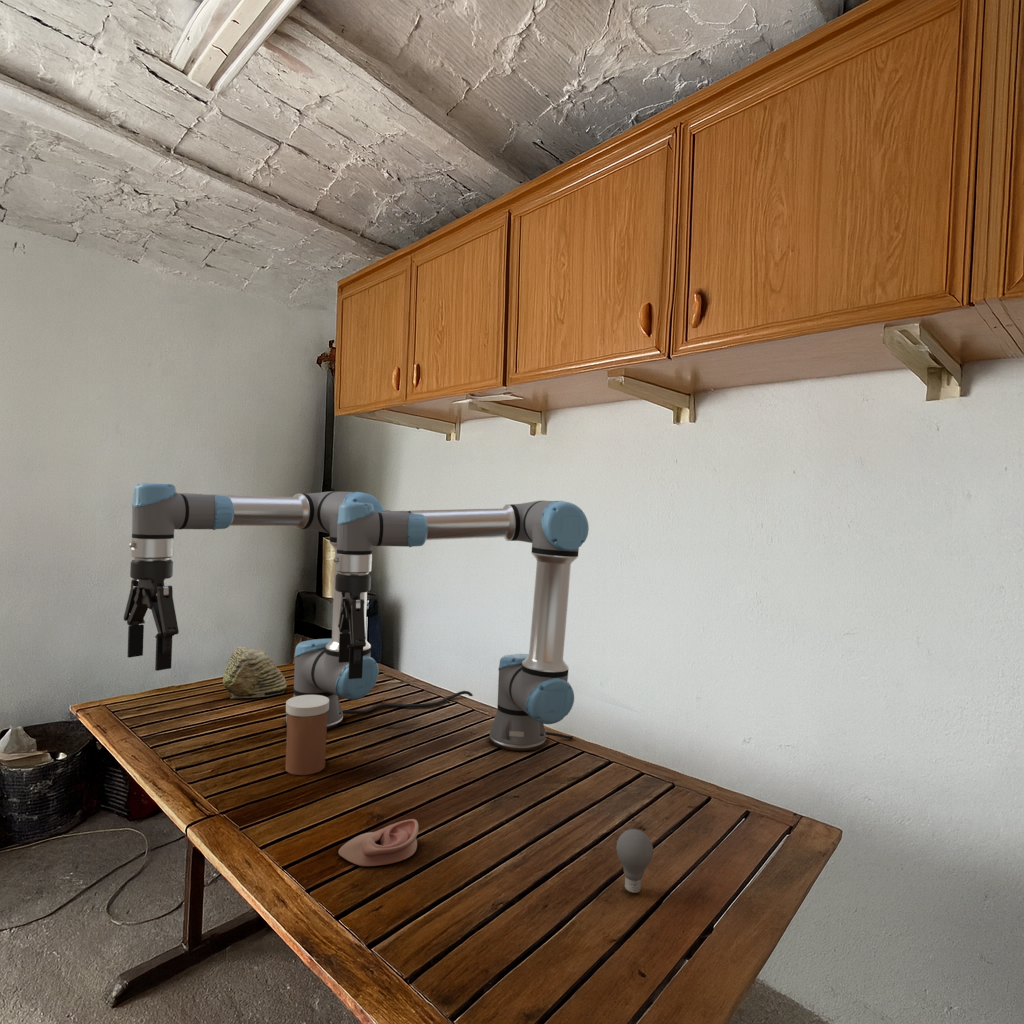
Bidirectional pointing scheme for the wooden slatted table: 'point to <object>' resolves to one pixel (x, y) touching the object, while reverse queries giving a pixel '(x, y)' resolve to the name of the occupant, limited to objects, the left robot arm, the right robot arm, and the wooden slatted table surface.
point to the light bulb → (634, 857)
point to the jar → (306, 744)
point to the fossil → (252, 674)
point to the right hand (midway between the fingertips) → (349, 669)
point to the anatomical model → (382, 845)
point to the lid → (307, 705)
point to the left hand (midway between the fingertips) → (148, 662)
